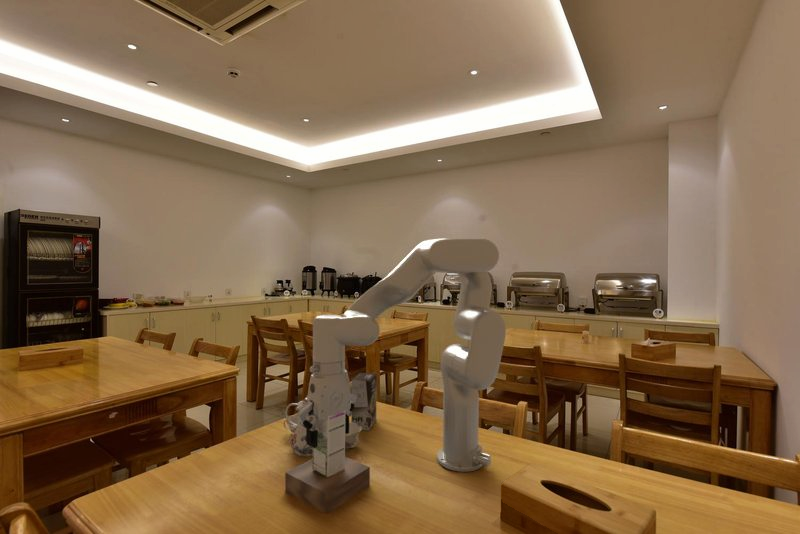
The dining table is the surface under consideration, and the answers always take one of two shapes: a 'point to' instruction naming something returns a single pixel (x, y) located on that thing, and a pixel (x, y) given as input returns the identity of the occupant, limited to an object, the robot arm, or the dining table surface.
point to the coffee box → (364, 400)
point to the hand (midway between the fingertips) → (328, 438)
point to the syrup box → (330, 446)
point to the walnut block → (327, 484)
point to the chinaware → (299, 432)
